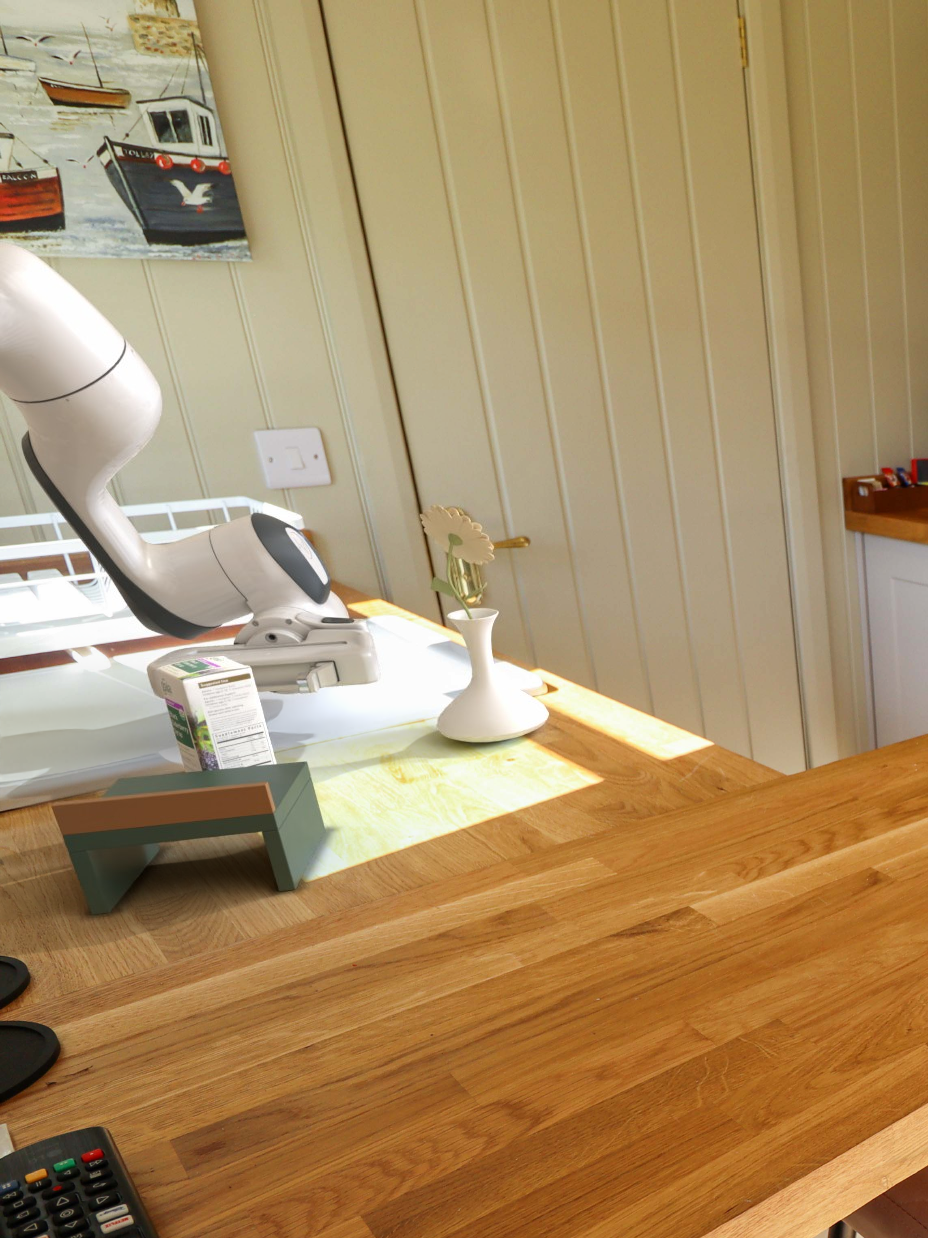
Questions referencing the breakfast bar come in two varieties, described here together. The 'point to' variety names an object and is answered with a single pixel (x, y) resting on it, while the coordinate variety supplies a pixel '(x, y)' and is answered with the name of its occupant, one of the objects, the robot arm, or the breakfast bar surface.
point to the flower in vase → (477, 646)
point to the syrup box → (216, 714)
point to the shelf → (189, 823)
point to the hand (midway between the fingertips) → (251, 689)
